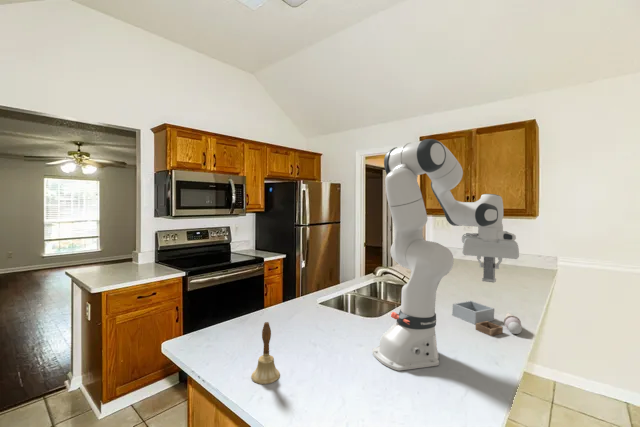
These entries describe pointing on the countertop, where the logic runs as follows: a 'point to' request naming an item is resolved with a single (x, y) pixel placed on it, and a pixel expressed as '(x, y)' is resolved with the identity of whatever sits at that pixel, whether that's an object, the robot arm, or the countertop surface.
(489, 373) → the countertop surface
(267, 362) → the hand bell
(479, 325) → the socket ring
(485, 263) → the strut
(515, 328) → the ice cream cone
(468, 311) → the tub
